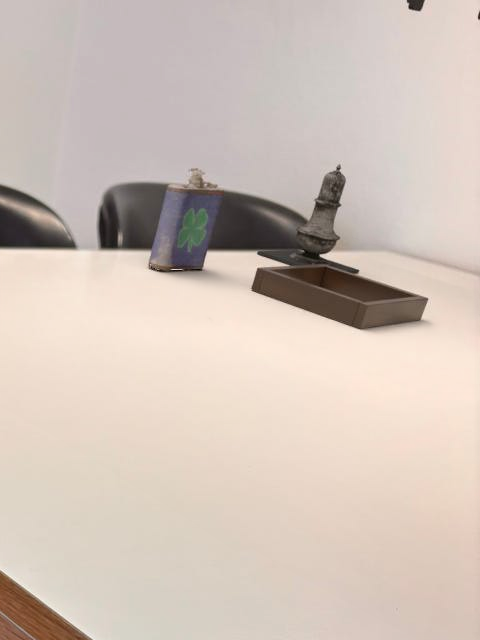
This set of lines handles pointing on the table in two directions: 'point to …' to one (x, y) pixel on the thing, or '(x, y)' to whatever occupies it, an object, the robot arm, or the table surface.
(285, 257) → the mat
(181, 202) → the flask
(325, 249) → the salt shaker
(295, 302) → the tray
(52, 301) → the table surface
